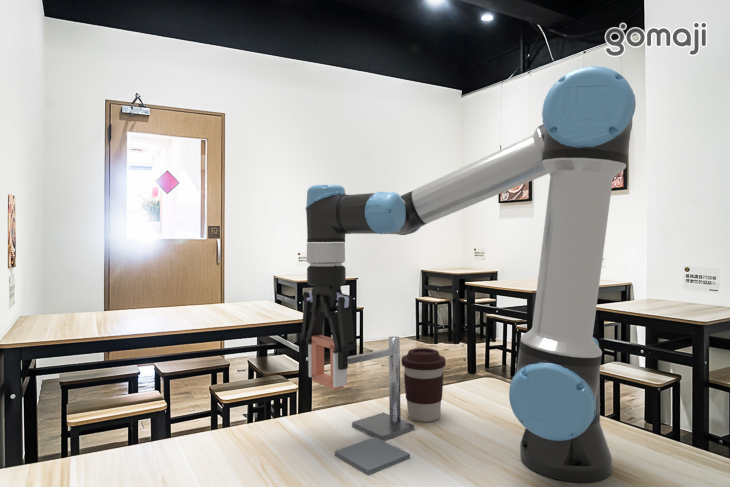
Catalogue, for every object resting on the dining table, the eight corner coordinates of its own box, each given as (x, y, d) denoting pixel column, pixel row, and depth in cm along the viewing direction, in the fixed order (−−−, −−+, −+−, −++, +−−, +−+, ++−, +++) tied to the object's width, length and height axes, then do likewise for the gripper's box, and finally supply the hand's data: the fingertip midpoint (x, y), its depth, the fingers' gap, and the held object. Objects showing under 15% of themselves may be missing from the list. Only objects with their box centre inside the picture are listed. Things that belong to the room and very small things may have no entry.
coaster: (410, 458, 88) (410, 453, 88) (368, 475, 82) (368, 470, 82) (375, 441, 96) (375, 437, 96) (334, 455, 90) (334, 451, 90)
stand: (415, 429, 101) (414, 340, 101) (362, 448, 93) (361, 350, 93) (384, 416, 109) (383, 333, 109) (333, 432, 100) (332, 342, 100)
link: (343, 388, 91) (343, 341, 91) (334, 390, 90) (334, 342, 90) (320, 378, 97) (320, 334, 97) (312, 380, 96) (311, 336, 96)
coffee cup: (444, 409, 113) (443, 346, 113) (447, 425, 103) (446, 356, 103) (402, 408, 114) (401, 346, 114) (401, 424, 104) (400, 356, 104)
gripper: (374, 265, 88) (375, 389, 88) (314, 262, 104) (314, 366, 104) (341, 267, 83) (342, 398, 83) (283, 263, 99) (284, 372, 100)
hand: (327, 380), depth 94 cm, fingers closed on link, 8 cm apart
